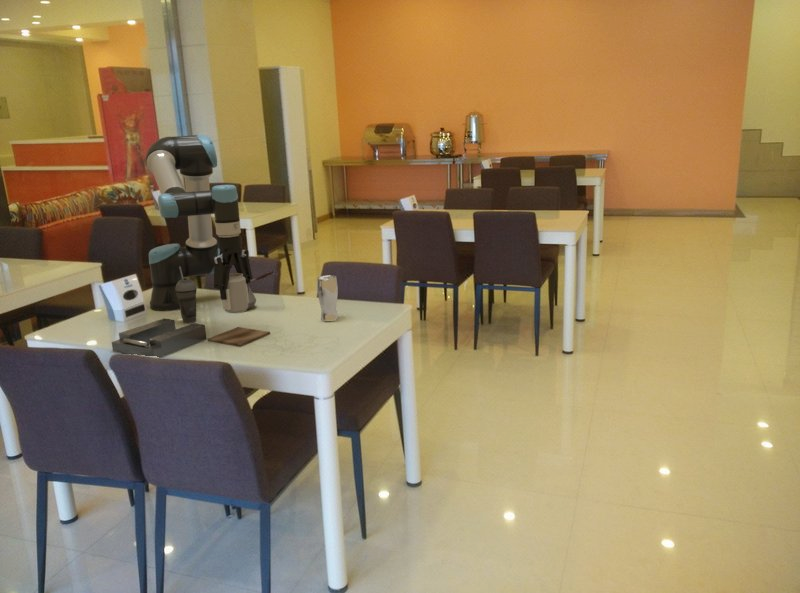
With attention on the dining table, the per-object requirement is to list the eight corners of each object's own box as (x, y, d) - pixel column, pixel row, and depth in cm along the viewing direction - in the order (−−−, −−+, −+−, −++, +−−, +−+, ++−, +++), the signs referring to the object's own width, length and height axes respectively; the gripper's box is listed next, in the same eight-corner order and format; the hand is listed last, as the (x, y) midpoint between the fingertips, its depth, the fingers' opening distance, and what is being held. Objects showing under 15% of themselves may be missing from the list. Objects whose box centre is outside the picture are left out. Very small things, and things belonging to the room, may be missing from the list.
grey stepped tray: (112, 351, 216) (110, 335, 215) (165, 332, 234) (164, 318, 232) (154, 359, 207) (152, 343, 205) (206, 339, 224) (205, 324, 223)
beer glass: (316, 321, 239) (313, 279, 236) (324, 316, 246) (321, 274, 242) (334, 322, 237) (332, 280, 234) (342, 317, 244) (340, 275, 240)
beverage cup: (197, 324, 242) (190, 268, 237) (176, 324, 242) (169, 268, 237) (202, 318, 249) (196, 263, 244) (182, 319, 249) (175, 264, 244)
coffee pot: (220, 312, 256) (215, 272, 252) (234, 304, 267) (230, 266, 263) (273, 314, 251) (269, 273, 247) (286, 305, 262) (282, 266, 258)
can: (242, 314, 218) (239, 277, 215) (220, 313, 220) (216, 276, 217) (252, 307, 225) (248, 271, 222) (230, 307, 227) (227, 271, 224)
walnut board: (207, 341, 223) (207, 338, 222) (238, 329, 234) (238, 326, 234) (240, 346, 216) (240, 344, 215) (270, 334, 227) (269, 331, 227)
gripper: (214, 241, 206) (221, 315, 212) (260, 230, 223) (266, 299, 229) (195, 240, 210) (204, 312, 216) (242, 229, 227) (249, 297, 232)
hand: (236, 305), depth 222 cm, fingers closed on can, 7 cm apart
